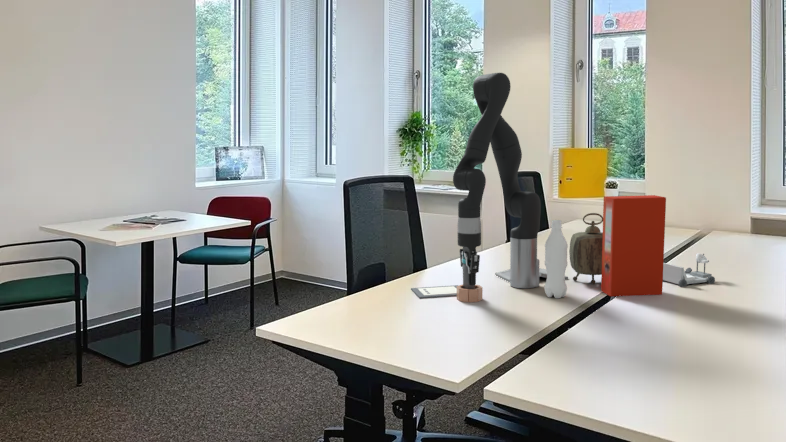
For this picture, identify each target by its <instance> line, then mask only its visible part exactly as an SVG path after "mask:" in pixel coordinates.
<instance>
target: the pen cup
mask: <svg viewBox="0 0 786 442" xmlns="http://www.w3.org/2000/svg"><path fill="white" fill-rule="evenodd" d="M456 300H458V301H459V302H464V303H477V302H480V301H482V300H483V287H482V286H481V285H480V284H475V289H463V284H458V286H457V296H456Z"/></svg>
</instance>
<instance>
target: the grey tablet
mask: <svg viewBox="0 0 786 442" xmlns="http://www.w3.org/2000/svg"><path fill="white" fill-rule="evenodd" d="M457 286H459V284H457V285H441V286H425V287H424V286H423V287H410V290H411V292H413V294H415V296H417V298H419V299H430V298H431V299H432V298H433V299H434V298H446V297H457Z"/></svg>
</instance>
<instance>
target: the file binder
mask: <svg viewBox="0 0 786 442" xmlns="http://www.w3.org/2000/svg"><path fill="white" fill-rule="evenodd" d="M602 205H603V208H602V209H603V210H602V211H603V213H602V217H603V222H602V233H603V241H602V275H601V277H600V279H601V283H600V284H601V285H600V286H601V287H600V291H601V292H602V293H603V294H606V295H607V296H609V297H612V298H613V297H632V296H633V297H634V296H638V297H639V296H662V295H663V281H664V280H663V263H664V261H665V260H664V255H665V233H666V231H665V230H666V208H667V207H666V206H667V197H665V196H661V195H660V196H659V195H655V194H654V195H652V194H651V195H647V194H646V195H616V196H615V195H612V196H603V204H602Z"/></svg>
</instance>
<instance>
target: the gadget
mask: <svg viewBox="0 0 786 442" xmlns="http://www.w3.org/2000/svg"><path fill="white" fill-rule="evenodd" d="M495 275H496V276H498V277H497V278H499V277H500V278H499V279H501V278H502V279H501V280H503V279H504V280H503V281H505V280H506V281H505V282H507V281H508V282H507V283H509V282H510V268H509V269H506V270H505V269H504V270H502V271H499V272H495V273H494V276H495ZM496 276H495V277H496ZM540 277H541V278H545V279H547V270H546V268H541V267H539V278H540ZM566 279H567V280H569V277H568V276H566V275H565V281H566Z"/></svg>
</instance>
